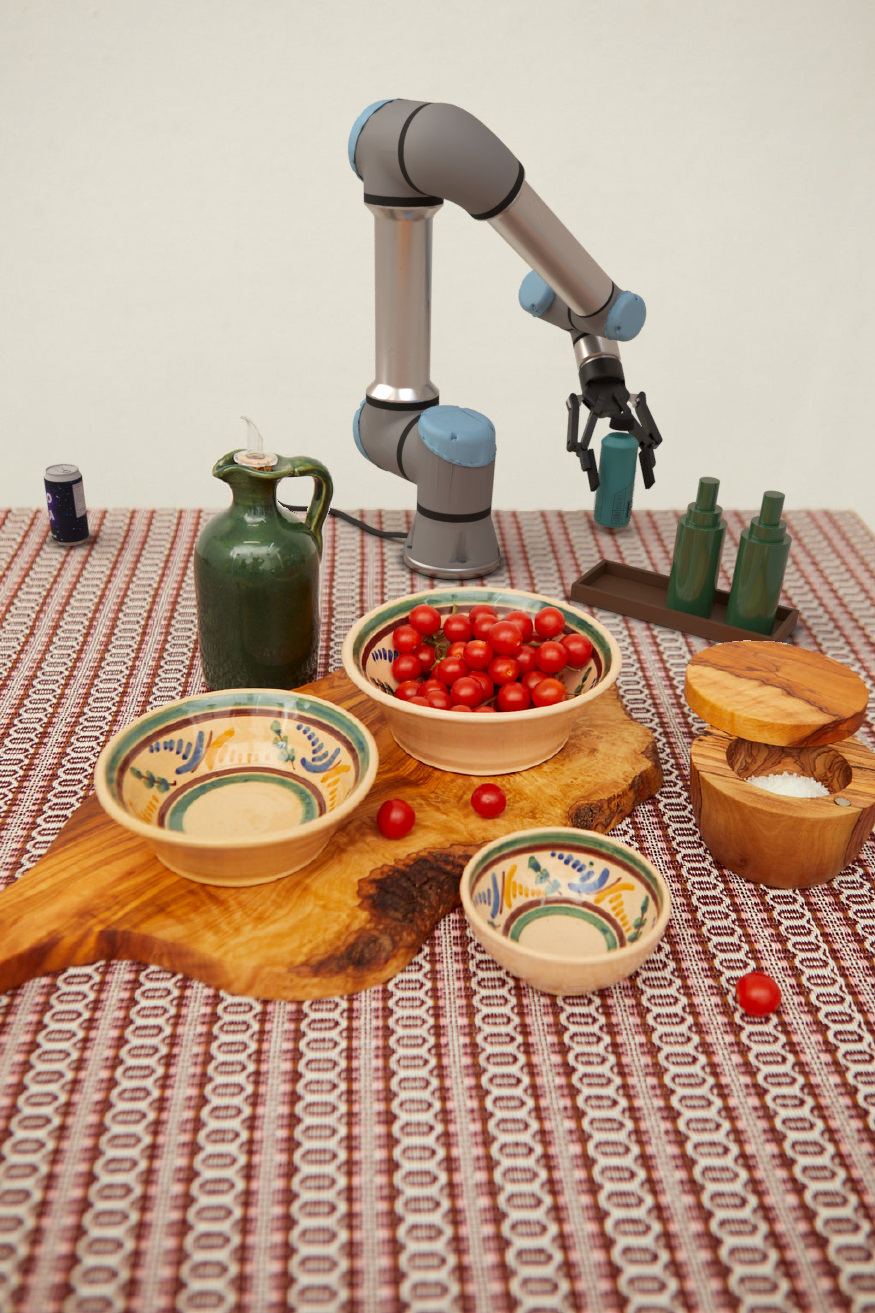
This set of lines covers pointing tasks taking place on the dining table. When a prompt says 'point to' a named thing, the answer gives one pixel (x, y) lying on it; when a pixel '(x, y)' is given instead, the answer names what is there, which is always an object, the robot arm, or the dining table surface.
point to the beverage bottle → (616, 473)
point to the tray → (647, 598)
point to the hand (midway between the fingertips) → (623, 486)
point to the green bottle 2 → (760, 569)
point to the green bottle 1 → (698, 553)
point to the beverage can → (66, 504)
